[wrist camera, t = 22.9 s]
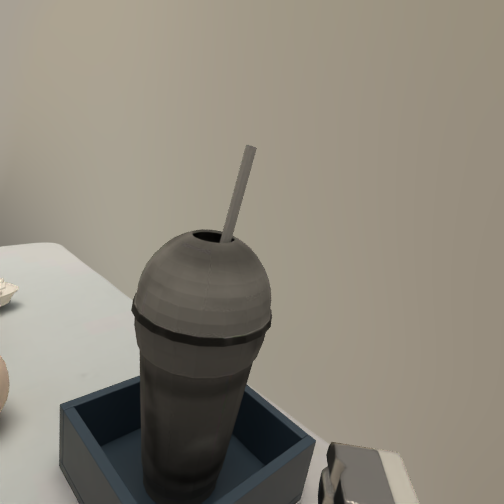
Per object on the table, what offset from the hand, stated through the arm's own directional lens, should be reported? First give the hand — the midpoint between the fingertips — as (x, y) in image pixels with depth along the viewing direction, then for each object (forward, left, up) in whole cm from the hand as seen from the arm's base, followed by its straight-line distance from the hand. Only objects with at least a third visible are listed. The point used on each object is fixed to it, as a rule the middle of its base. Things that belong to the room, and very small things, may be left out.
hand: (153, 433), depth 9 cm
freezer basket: (+10, -5, -14) cm, 18 cm away
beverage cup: (+10, -5, -14) cm, 18 cm away
